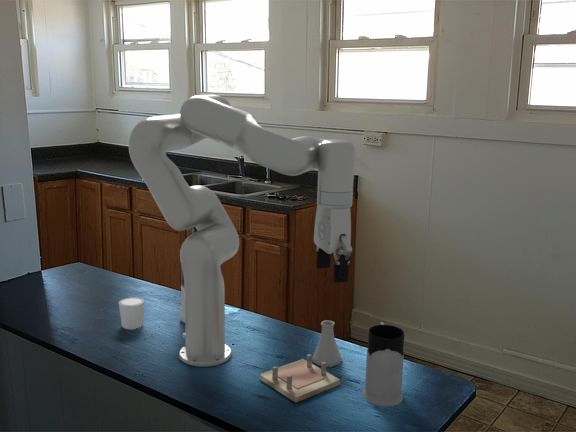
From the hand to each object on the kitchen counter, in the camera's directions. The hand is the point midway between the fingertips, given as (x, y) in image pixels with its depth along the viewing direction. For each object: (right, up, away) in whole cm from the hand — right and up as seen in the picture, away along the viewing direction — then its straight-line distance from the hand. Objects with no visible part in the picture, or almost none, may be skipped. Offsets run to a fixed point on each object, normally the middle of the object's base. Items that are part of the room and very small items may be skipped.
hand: (331, 274), depth 134 cm
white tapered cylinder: (-52, -17, +34) cm, 64 cm away
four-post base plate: (-7, -25, +4) cm, 26 cm away
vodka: (-35, -17, +38) cm, 55 cm away
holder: (+11, -26, +2) cm, 28 cm away
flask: (0, -23, +15) cm, 27 cm away
